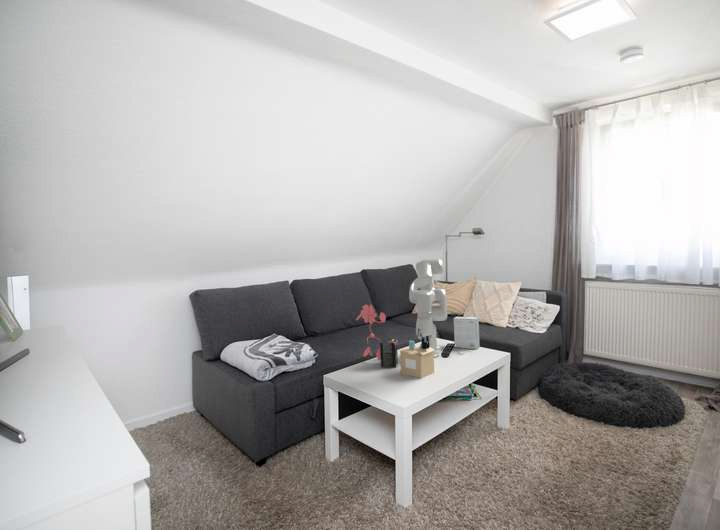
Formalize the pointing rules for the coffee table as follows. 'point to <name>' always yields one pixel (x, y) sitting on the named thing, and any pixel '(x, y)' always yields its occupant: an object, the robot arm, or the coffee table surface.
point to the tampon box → (388, 353)
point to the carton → (416, 362)
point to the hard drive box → (466, 332)
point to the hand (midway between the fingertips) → (425, 348)
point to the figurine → (369, 317)
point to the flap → (424, 350)
